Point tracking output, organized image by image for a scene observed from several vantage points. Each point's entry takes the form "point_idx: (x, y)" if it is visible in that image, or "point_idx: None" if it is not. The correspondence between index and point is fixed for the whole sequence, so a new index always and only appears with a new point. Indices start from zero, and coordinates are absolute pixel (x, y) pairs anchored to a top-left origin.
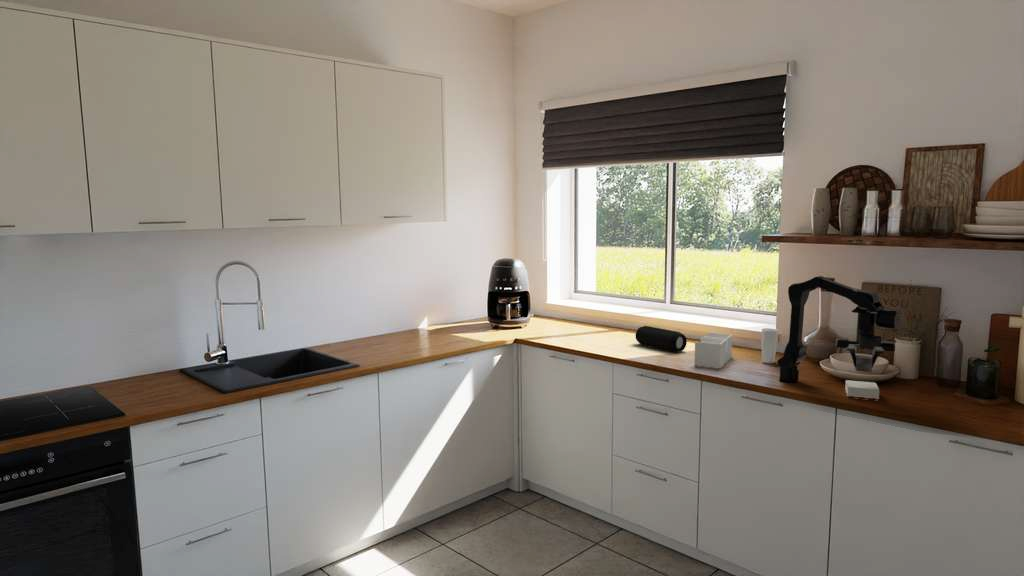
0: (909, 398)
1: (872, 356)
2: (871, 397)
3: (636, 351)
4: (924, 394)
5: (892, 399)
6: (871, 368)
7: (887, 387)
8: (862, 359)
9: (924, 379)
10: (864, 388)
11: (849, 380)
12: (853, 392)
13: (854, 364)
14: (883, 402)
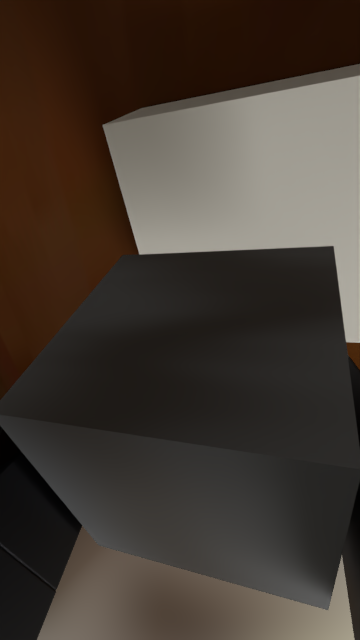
0: (26, 260)
1: (48, 518)
2: (185, 100)
3: None
4: (13, 343)
5: (80, 196)
6: (100, 283)
7: None
8: (200, 407)
9: None
10: (232, 100)
11: None
12: (346, 70)
13: (357, 377)
14: (104, 63)
